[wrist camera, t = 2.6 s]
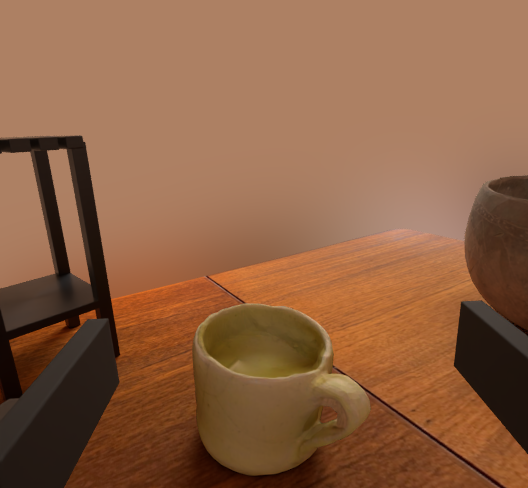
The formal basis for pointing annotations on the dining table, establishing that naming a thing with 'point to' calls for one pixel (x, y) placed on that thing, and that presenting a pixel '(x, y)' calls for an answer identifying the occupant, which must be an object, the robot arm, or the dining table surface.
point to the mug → (269, 389)
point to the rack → (55, 260)
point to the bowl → (500, 246)
